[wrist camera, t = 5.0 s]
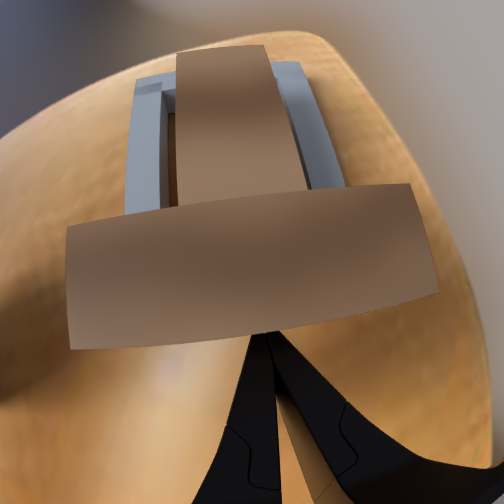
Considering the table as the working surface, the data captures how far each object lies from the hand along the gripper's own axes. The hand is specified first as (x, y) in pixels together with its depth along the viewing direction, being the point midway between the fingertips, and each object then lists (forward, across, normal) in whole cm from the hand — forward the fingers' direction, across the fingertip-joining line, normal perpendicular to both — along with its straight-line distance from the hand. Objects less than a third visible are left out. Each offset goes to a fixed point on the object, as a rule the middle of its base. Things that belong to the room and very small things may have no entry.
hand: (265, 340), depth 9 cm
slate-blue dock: (+14, 0, -4) cm, 14 cm away
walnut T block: (+9, 0, 0) cm, 9 cm away
